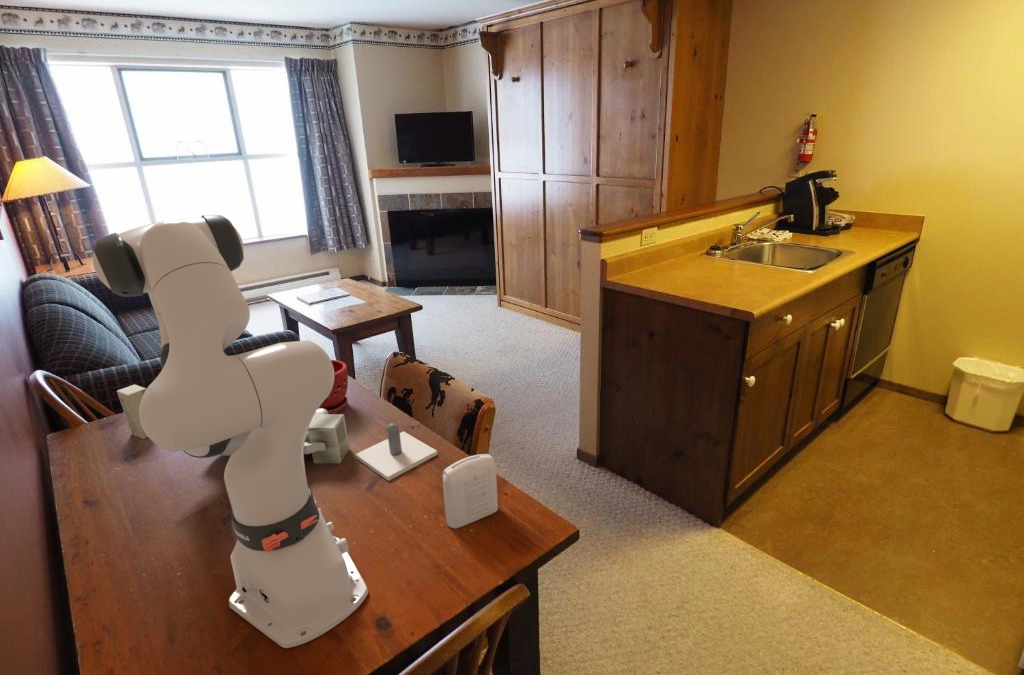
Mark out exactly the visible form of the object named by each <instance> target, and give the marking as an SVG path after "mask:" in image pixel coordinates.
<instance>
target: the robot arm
mask: <svg viewBox="0 0 1024 675" xmlns="http://www.w3.org/2000/svg"><path fill="white" fill-rule="evenodd" d="M243 242H244V241H243V239H242V236H241V234H240V232H239V231H238V230H237V228H236V227H235V226H234V225H233V224H232V222H231V220H229V219H228V218H227V217H225V216H223V215H222V214H221V215H219V214H204V215H201V217H192V218H190V217H189V218H182V219H167V220H165V221H164V220H163V221H159V222H154V223H150V224H146V225H142V226H139V227H135V228H132V229H129V230H127V231H123V232H120V233H117V232H114V233H110V234H108V235H106V236H103V237H101V238H99V239H97V241H96V243H95V244H94V245H93V246H92V249H93V252H92V253H93V254H92V264H93V270H94V271H95V273H96V275H97V277H98V279H99V280H100V282H102V283H103V284H104V286H106V287H107V288H108V289H109V290H111V291H112V293H113V294H115V295H118V296H121V297H122V298H123V297H124V298H127V297H128V298H129V297H140V296H141V297H142V296H143V295H144V294H146V293H147V294H148V297H149V299H150V303H151V306H152V307H153V310H154V313H155V316H156V319H157V324H158V327H159V333H160V345H161V346H160V347H161V348H160V350H161V351H160V367H161V371H160V372H159V373H158V375H157V376H156V378H155V379H154V380H153V381H152V382H151V383H150V384H149V385H148V386H147V388H146V391H145V393H144V394H143V397H142V399H141V403H140V408H139V417H140V422H141V425H142V428H143V430H144V432H145V433H146V435H147V436H148V437H147V438H148V439H150V441H151V442H152V443H154V444H155V445H156V446H158V447H160V448H161V449H162V450H163V449H164V450H166V451H168V452H171V453H177V452H182V451H183V452H184V454H187V455H189V456H190V457H193V458H197V459H198V458H199V459H204V458H205V459H206V458H212V457H216V456H226V457H227V456H228V457H229V458H228V460H227V463H226V466H225V468H224V473H223V481H224V483H225V484H224V486H225V488H226V492H227V495H228V498H229V499H228V500H229V504H230V506H231V509H232V510H231V514H230V515H231V517H230V518H231V525H232V526H231V527H232V530H233V531H234V534H235V537H236V542H235V545H234V547H233V550H232V551H231V554H230V556H229V557H230V561H231V566H232V571H233V576H234V581H235V586H236V588H235V590H234V591H233V593H231V595H230V597H229V599H228V604H229V605H228V606H229V608H230V609H231V610H232V611H234V612H235V613H237V614H238V615H239V616H240V617H242V618H243V619H244V620H246V621H247V622H248V623H249V624H250V625H252V626H253V627H255V628H256V629H257V630H259V631H260V632H261V633H262V634H264V635H265V636H266V637H267V638H269V639H271V640H272V641H273V642H274V643H276V644H277V645H278V646H279V647H282V648H284V649H289V648H295V647H298V646H301V645H304V644H306V643H308V642H310V641H313V640H314V639H316V638H318V637H320V636H322V635H324V634H325V633H327V632H329V631H330V630H331V629H333V628H335V627H336V626H337V625H339V624H340V623H341V622H343V621H344V620H346V619H347V618H348V617H349V616H350V615H351V614H353V613H354V612H355V611H356V610H357V609H358V608H359V607H360V606H361V604H362V603H363V602H364V601H365V599H366V597H367V595H369V590H368V586H367V585H366V582H365V579H363V577H362V574H360V572H359V570H358V567H357V566H356V565H355V562H354V561H353V559H352V558H351V556H350V553H349V551H350V549H349V548H350V546H349V544H348V541H347V540H346V537H342V538H339V537H338V536H337V537H336V536H335V535H333V533H332V532H331V531H333V530H334V529H335V526H334V523H333V522H332V521H329V522H326V520H325V518H324V515H323V513H322V509H321V508H319V507H318V503H317V501H316V498H315V496H314V494H313V492H312V488H310V486H309V485H308V479H307V474H306V473H307V472H306V466H305V456H304V455H309V454H312V453H313V452H316V451H324V450H325V449H326V447H327V442H326V441H325V440H323V441H322V440H318V442H315V443H310V441H309V436H308V428H309V425H310V424H311V422H312V421H313V420H314V419H315V418H316V416H317V415H318V414H328V411H327V410H326V409H324V408H319V406H320V405H321V404H322V403H323V401H324V400H325V399H326V398H327V397H328V396H329V394H330V392H331V390H332V387H333V384H334V368H333V364H332V362H331V360H332V359H331V358H330V356H329V355H328V353H327V352H326V351H325V350H324V349H323V348H322V347H321V346H320V345H318V344H317V343H316V342H313V341H311V340H297V341H283V342H278V343H274V344H271V345H267V346H264V347H260V348H257V349H252V350H249V351H246V352H243V353H239V354H235V355H234V354H232V355H227V354H226V353H225V352H224V350H225V349H227V347H229V346H230V345H232V344H233V343H234V342H235V341H236V340H237V339H238V338H240V336H241V335H242V334H243V333H244V331H245V330H246V328H247V327H248V325H249V321H250V317H251V316H250V315H251V314H250V311H251V310H250V307H249V305H248V303H247V301H246V299H245V297H244V295H243V292H242V291H241V289H240V287H239V285H238V284H237V282H236V279H235V277H234V276H233V275H234V274H233V273H232V272H233V271H234V270H237V269H238V268H240V266H241V265H242V263H243V261H244V259H245V258H244V243H243Z"/></svg>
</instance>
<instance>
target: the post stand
mask: <svg viewBox="0 0 1024 675" xmlns="http://www.w3.org/2000/svg"><path fill="white" fill-rule="evenodd" d="M386 433H387V439H384V440H382V441H380V442H377V443H376V444H374V445H372V446H370V447H368V448H365V449H363V450H361V451H359V452H357V453H355V454H354V455H355V458H356V460H358V461H359V462H360V463H362V464H364V465H365V466H367V467H368V468H369V469H371V470H372V471H373V472H375V473H376V474H377V475H379V476H380V477H382V478H384V479H385V481H388V482H389V481H391V480H393V479H395V478H397V477H399V476H400V475H402V474H405V473H406V472H407V471H410V470H412V469H413V468H415V467H418V466H419V465H420V464H423V463H425V462H426V461H428V460H430V459H432V458H433V457H436V456H437V455H438V450H436V449H435V448H433V447H431V446H430V445H428V444H426V443H425V442H422V441H421V440H420V439H418V438H416V437H414V436H412V435H411V434H409V433H407V432H406V431H405V430H404V431H401V432H400V427H399V425H398V424H397V423H394V422H393V423H392V422H391V423H389V424H388V425H387V427H386Z"/></svg>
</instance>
